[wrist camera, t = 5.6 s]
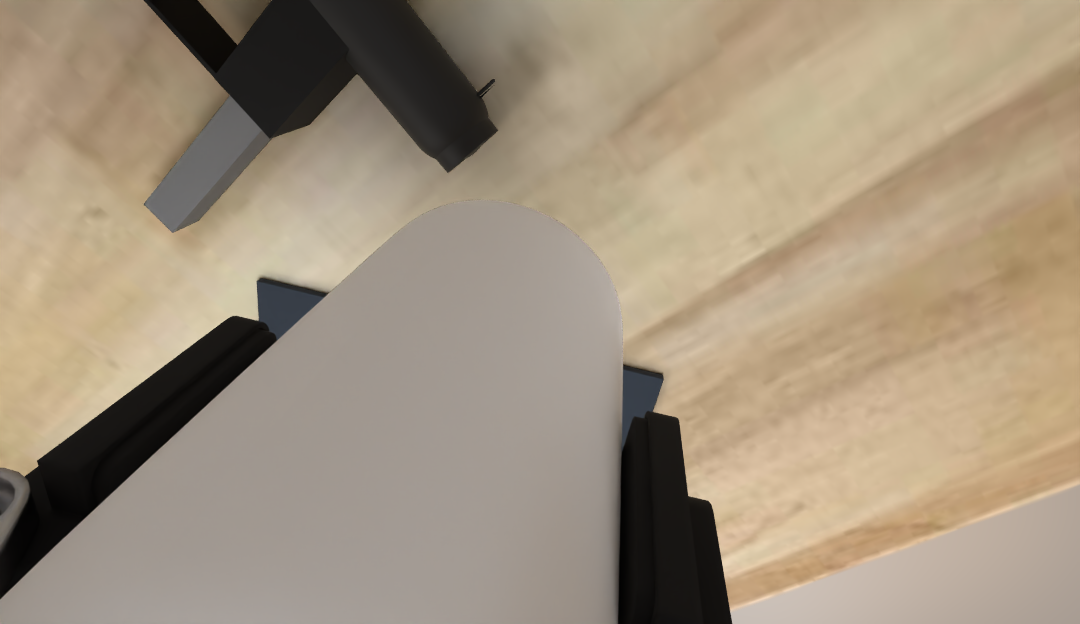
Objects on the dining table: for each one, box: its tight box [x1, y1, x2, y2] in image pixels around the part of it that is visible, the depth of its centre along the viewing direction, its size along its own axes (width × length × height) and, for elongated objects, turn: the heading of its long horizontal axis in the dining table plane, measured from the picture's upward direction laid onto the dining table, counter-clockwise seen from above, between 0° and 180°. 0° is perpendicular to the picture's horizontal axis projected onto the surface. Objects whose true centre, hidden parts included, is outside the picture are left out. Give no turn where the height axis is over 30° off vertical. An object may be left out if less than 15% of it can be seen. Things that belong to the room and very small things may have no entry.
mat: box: [257, 278, 664, 450], centre depth 32 cm, size 20×18×1 cm
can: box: [0, 200, 623, 624], centre depth 10 cm, size 6×6×12 cm
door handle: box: [144, 0, 498, 233], centre depth 22 cm, size 3×20×16 cm
